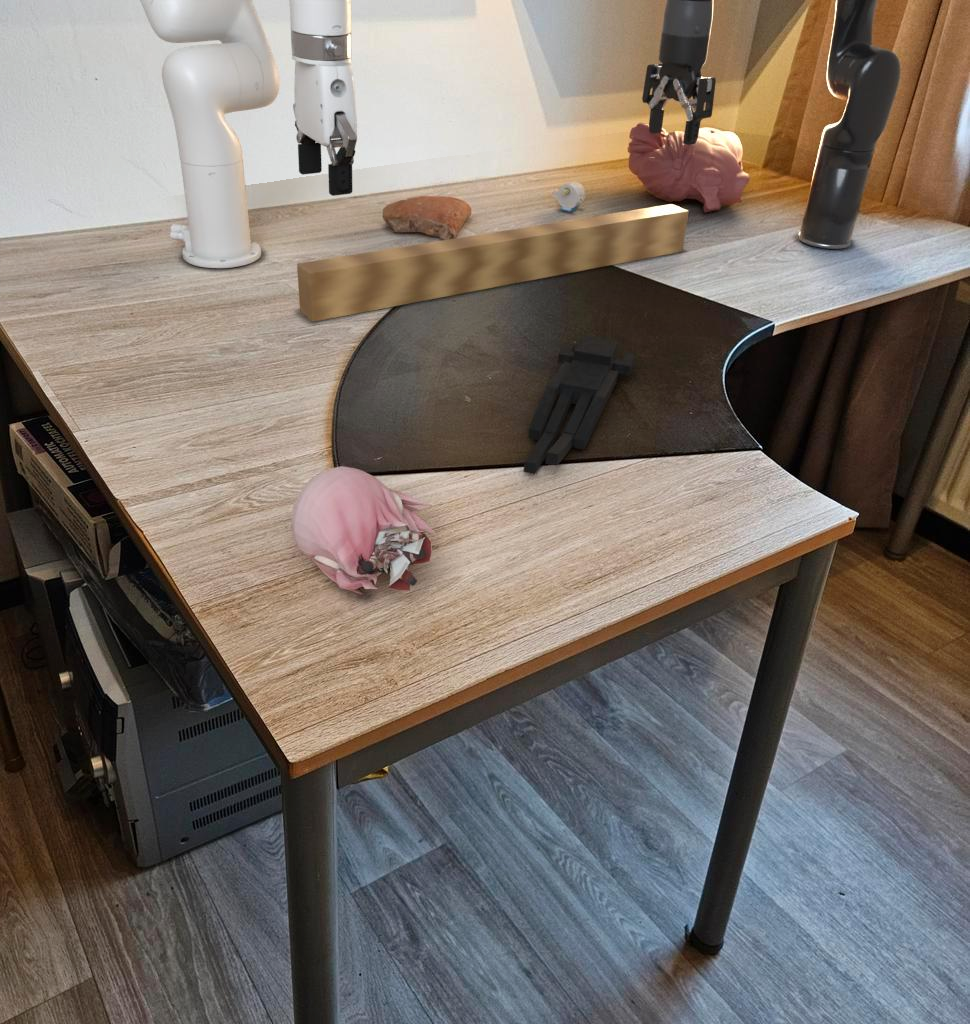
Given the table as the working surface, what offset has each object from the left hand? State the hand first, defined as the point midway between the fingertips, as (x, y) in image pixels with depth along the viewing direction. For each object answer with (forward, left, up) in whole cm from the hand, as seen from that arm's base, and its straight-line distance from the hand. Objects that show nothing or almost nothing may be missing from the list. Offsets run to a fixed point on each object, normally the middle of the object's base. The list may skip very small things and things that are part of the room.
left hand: (325, 183), depth 132 cm
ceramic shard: (0, +43, -19) cm, 47 cm away
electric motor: (+23, +63, -19) cm, 70 cm away
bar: (+21, +23, -19) cm, 36 cm away
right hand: (+42, +46, +1) cm, 63 cm away
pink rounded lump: (+28, -57, -19) cm, 67 cm away
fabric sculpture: (+44, +88, -19) cm, 100 cm away
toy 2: (+40, -21, -19) cm, 49 cm away
